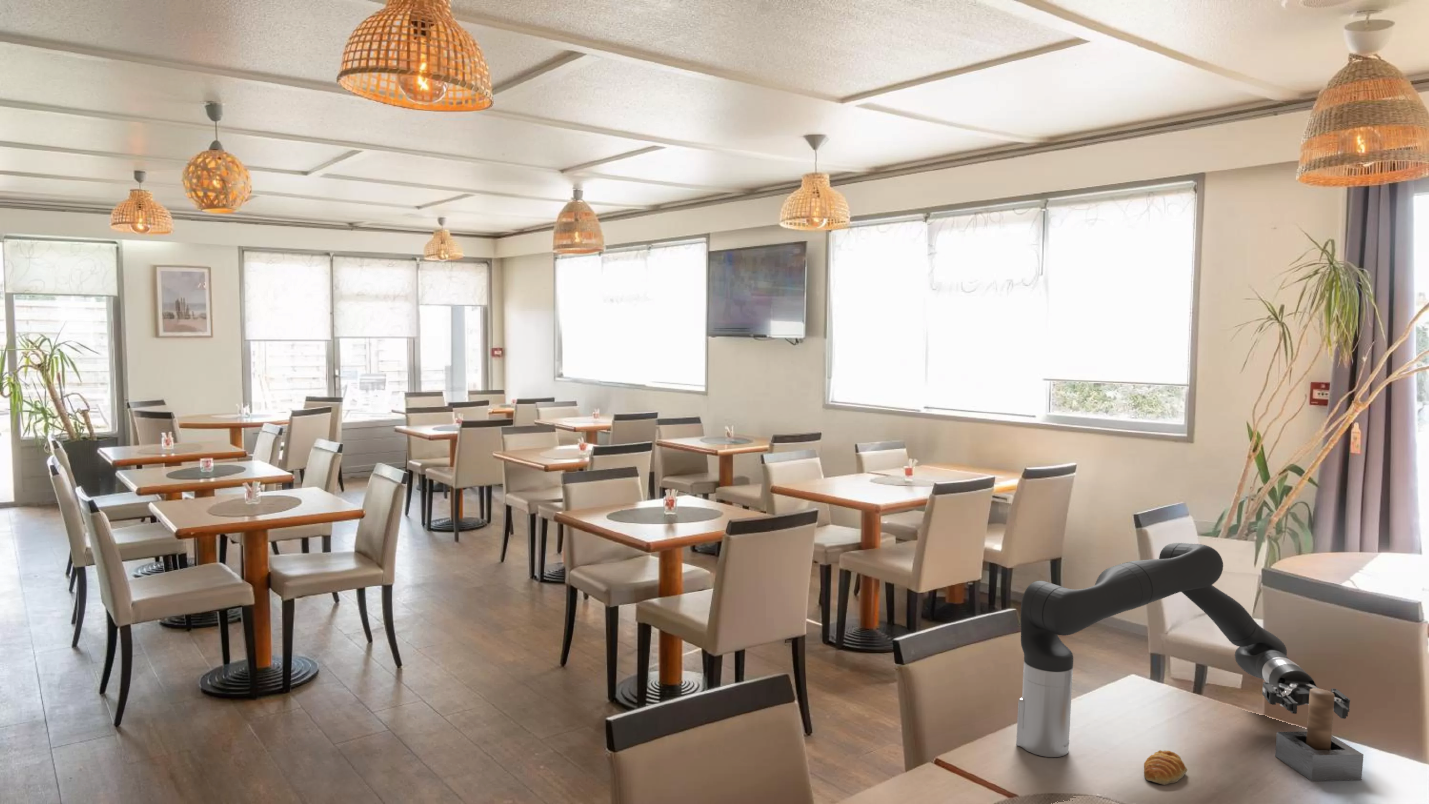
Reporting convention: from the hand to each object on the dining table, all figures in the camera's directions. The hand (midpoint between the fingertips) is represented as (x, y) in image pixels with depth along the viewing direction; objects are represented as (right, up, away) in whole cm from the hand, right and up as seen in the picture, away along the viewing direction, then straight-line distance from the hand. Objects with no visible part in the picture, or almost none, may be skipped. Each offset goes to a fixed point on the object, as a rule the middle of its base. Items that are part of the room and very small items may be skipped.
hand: (1319, 711), depth 178 cm
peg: (-1, -10, 0) cm, 10 cm away
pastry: (-32, -11, -4) cm, 34 cm away
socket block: (-1, -11, 0) cm, 11 cm away
